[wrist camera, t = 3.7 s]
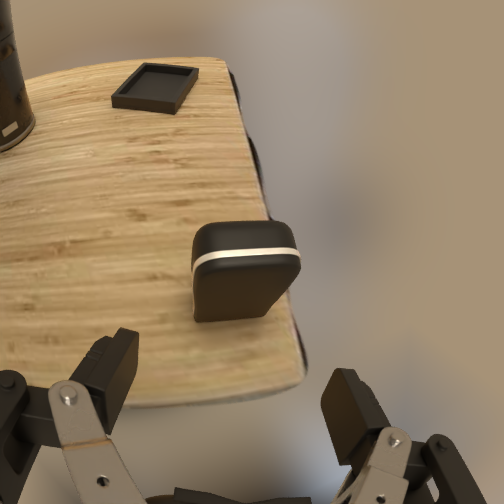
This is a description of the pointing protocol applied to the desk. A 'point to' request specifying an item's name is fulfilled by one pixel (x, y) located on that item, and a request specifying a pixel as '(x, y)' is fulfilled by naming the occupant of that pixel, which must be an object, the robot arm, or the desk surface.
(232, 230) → the battery charger
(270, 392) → the desk surface
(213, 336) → the desk surface
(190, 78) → the dock pad
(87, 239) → the desk surface
